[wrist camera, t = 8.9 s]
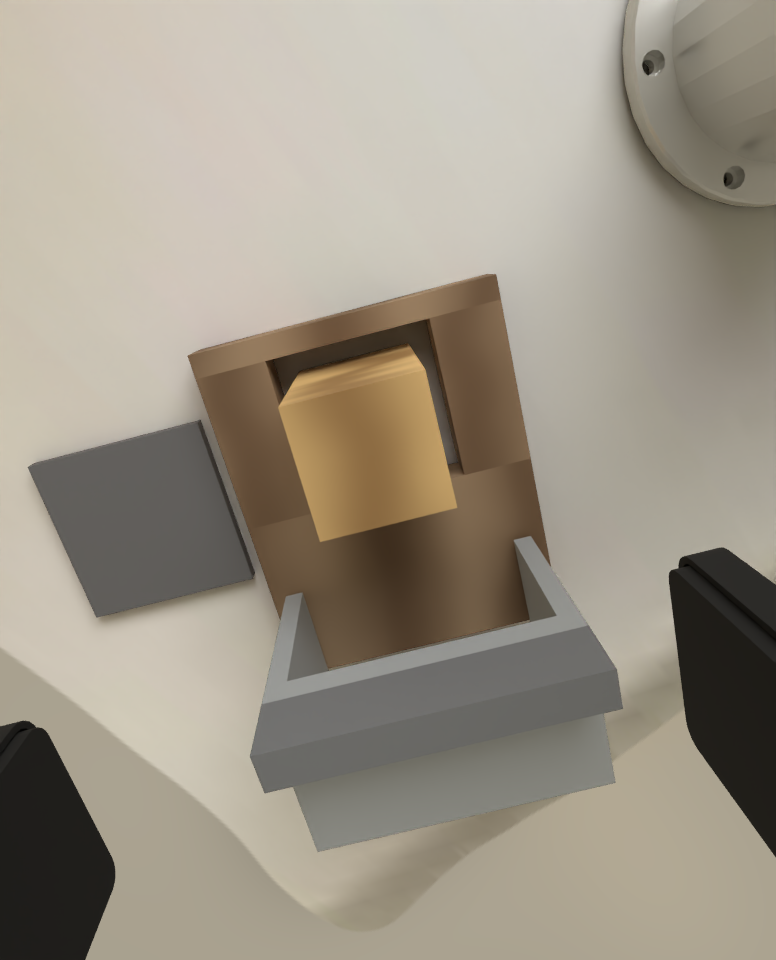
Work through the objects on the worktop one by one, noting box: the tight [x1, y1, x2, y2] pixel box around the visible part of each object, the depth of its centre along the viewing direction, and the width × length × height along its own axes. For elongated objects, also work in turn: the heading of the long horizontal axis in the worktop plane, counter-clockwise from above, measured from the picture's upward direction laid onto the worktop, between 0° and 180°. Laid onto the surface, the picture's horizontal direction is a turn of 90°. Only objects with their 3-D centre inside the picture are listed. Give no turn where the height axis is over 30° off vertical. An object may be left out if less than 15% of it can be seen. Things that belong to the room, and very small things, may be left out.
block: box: [278, 343, 457, 542], centre depth 25 cm, size 5×5×8 cm
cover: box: [250, 536, 623, 852], centre depth 25 cm, size 12×7×10 cm, turn 104°
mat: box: [28, 420, 255, 617], centre depth 30 cm, size 8×8×1 cm
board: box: [188, 274, 551, 668], centre depth 29 cm, size 13×16×2 cm
